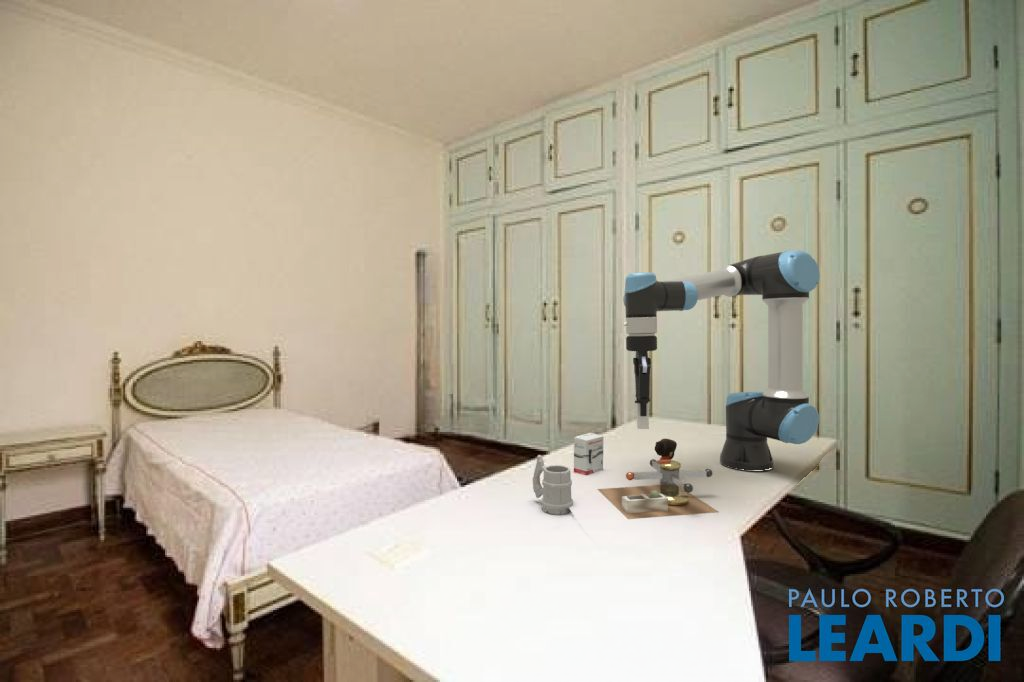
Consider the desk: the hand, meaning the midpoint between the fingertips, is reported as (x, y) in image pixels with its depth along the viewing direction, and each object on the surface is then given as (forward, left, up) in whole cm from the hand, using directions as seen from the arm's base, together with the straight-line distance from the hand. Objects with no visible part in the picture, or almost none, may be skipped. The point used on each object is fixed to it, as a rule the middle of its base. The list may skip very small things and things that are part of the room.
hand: (643, 428), depth 123 cm
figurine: (-13, -12, -19) cm, 26 cm away
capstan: (-5, +5, -17) cm, 18 cm away
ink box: (+7, -21, -19) cm, 29 cm away
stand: (-1, +5, -18) cm, 19 cm away
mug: (+24, +1, -19) cm, 30 cm away
